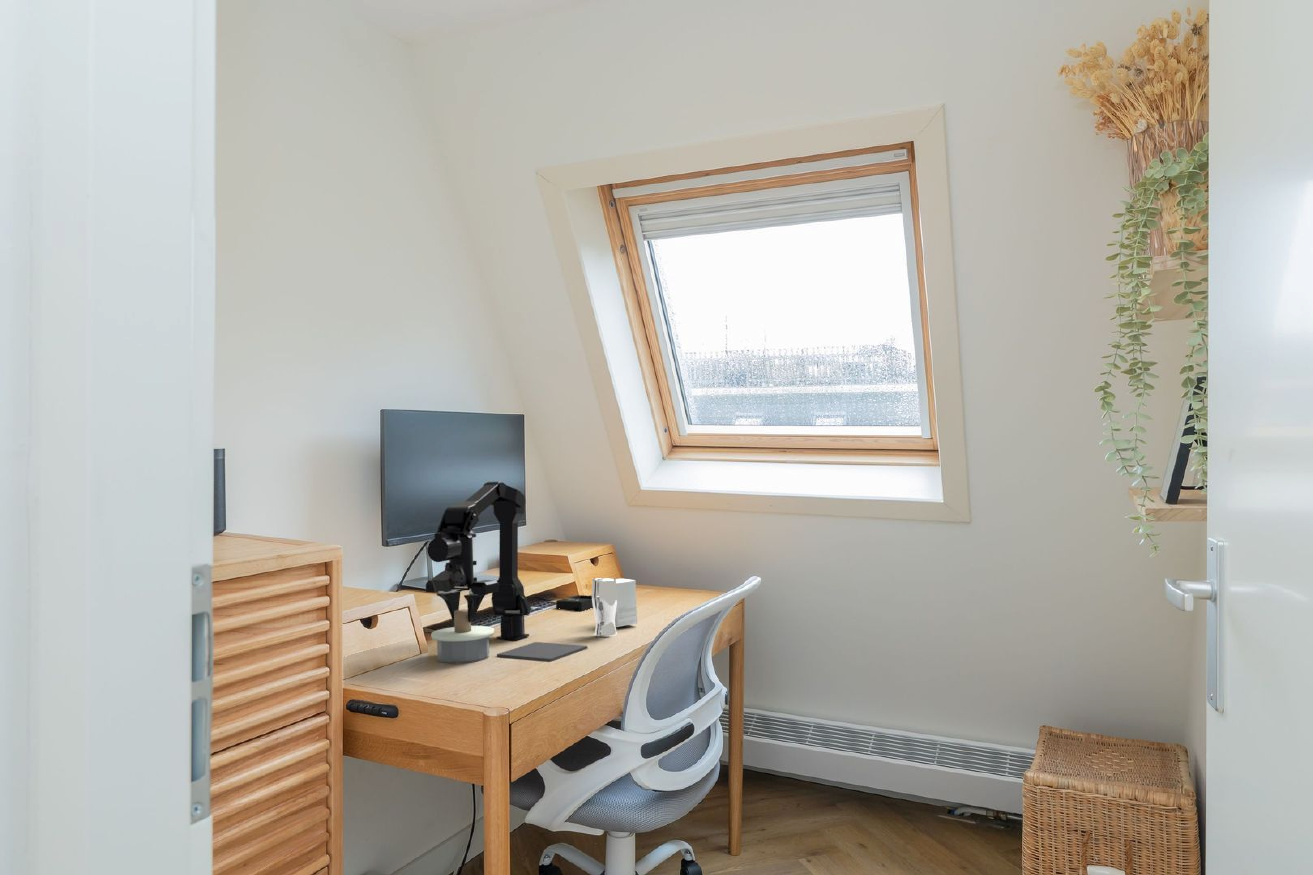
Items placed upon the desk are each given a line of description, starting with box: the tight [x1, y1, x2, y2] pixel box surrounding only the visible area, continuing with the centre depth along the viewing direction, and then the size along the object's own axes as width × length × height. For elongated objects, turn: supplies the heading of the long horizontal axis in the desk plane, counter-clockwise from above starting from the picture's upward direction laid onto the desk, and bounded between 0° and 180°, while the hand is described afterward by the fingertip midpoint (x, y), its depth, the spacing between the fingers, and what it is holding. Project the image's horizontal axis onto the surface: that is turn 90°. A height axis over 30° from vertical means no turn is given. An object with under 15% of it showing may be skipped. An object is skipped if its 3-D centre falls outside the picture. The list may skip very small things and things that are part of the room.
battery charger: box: [555, 594, 593, 613], centre depth 292 cm, size 13×10×4 cm
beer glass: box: [591, 577, 618, 638], centre depth 246 cm, size 7×7×15 cm
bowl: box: [436, 637, 490, 664], centre depth 221 cm, size 12×12×6 cm
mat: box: [496, 641, 588, 662], centre depth 225 cm, size 16×16×1 cm
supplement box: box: [615, 578, 638, 628], centre depth 262 cm, size 7×7×13 cm
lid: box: [430, 608, 495, 642], centre depth 222 cm, size 15×15×6 cm
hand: (462, 621), depth 222 cm, fingers open, 5 cm apart
